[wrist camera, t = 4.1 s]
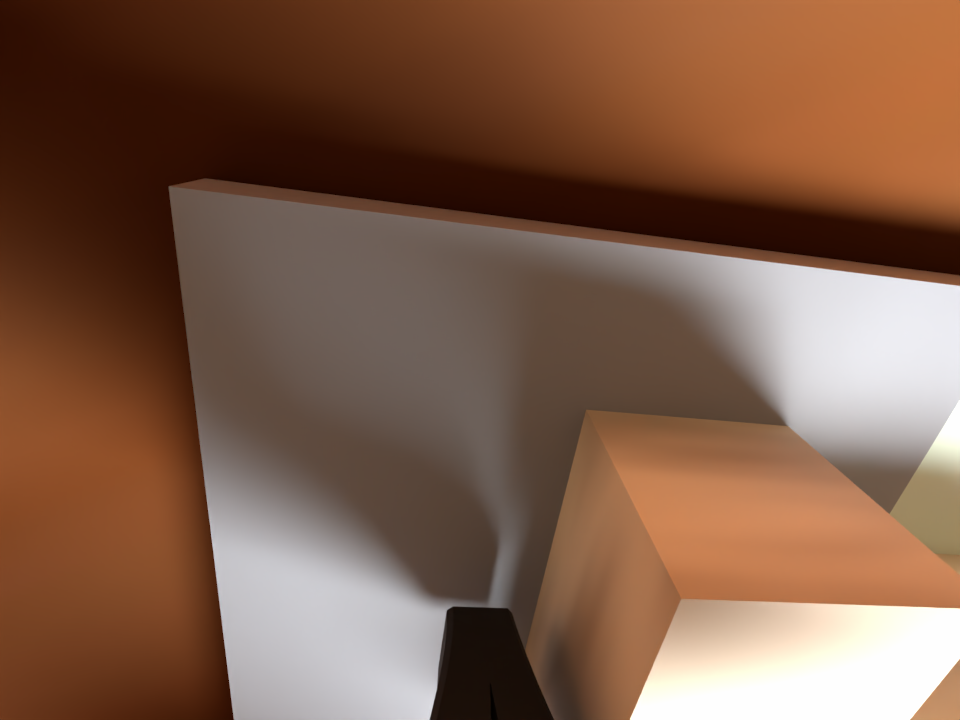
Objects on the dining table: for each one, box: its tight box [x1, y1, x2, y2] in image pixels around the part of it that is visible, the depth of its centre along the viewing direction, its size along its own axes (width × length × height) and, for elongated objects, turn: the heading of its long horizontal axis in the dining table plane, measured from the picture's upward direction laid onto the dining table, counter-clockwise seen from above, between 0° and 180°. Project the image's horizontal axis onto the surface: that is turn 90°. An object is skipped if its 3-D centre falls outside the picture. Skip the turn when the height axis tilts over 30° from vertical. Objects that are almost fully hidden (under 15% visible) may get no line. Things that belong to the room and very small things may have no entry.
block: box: [525, 410, 960, 720], centre depth 10 cm, size 10×11×4 cm
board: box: [168, 178, 960, 720], centre depth 13 cm, size 18×28×1 cm, turn 83°
